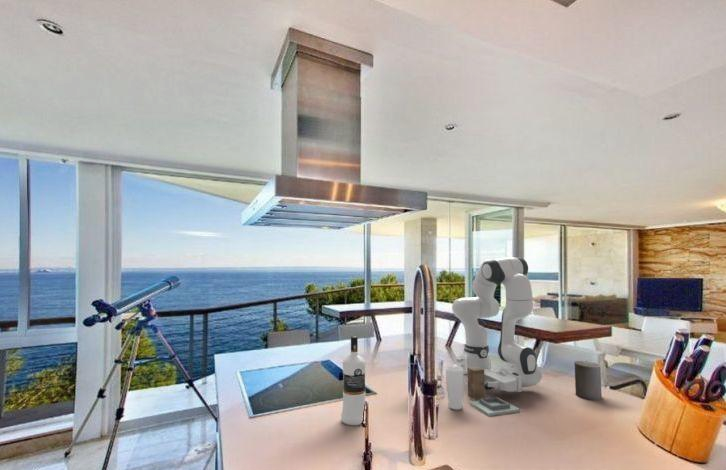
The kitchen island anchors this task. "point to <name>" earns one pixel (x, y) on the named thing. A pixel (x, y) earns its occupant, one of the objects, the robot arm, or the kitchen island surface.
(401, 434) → the kitchen island surface
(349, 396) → the vodka
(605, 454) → the kitchen island surface
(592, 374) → the pillar candle
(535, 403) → the kitchen island surface
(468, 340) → the robot arm
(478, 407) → the grey flat square tray
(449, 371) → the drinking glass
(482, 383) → the walnut pillar
